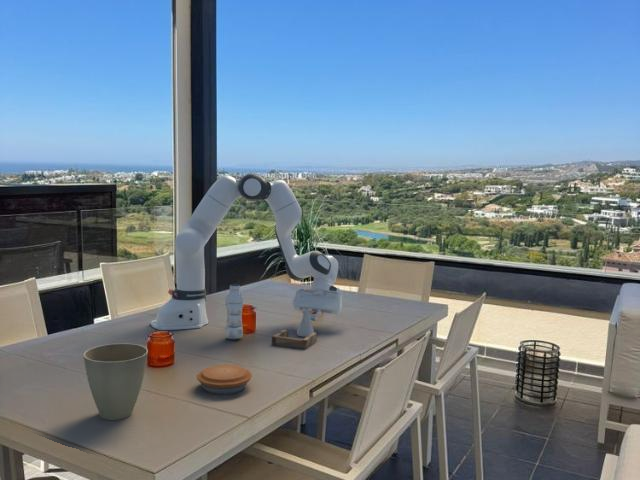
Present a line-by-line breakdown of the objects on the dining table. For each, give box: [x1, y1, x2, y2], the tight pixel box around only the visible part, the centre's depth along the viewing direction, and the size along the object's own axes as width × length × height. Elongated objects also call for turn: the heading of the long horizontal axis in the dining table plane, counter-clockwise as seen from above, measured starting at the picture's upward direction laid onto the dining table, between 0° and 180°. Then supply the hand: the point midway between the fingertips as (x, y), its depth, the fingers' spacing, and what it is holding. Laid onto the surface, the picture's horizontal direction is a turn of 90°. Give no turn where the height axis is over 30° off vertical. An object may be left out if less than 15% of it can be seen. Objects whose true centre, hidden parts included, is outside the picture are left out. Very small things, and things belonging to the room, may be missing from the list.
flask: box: [296, 309, 315, 338], centre depth 222 cm, size 7×7×10 cm
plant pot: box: [83, 342, 149, 421], centre depth 143 cm, size 15×15×16 cm
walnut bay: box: [271, 328, 318, 350], centre depth 211 cm, size 12×13×3 cm
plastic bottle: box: [224, 284, 244, 340], centre depth 213 cm, size 6×7×20 cm
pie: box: [196, 364, 253, 395], centre depth 164 cm, size 16×16×5 cm
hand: (312, 319), depth 228 cm, fingers closed
